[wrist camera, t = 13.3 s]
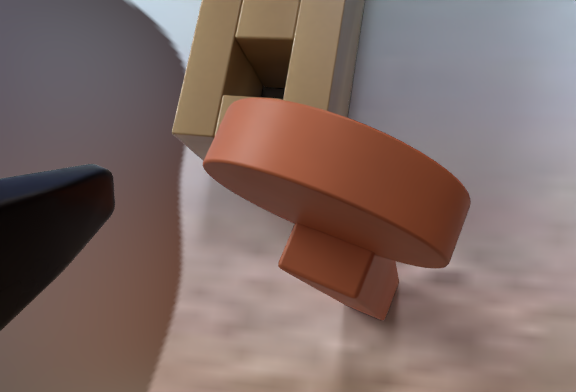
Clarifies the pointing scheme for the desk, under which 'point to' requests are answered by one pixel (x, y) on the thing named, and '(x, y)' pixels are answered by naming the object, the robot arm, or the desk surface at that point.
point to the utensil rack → (266, 59)
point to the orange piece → (340, 196)
